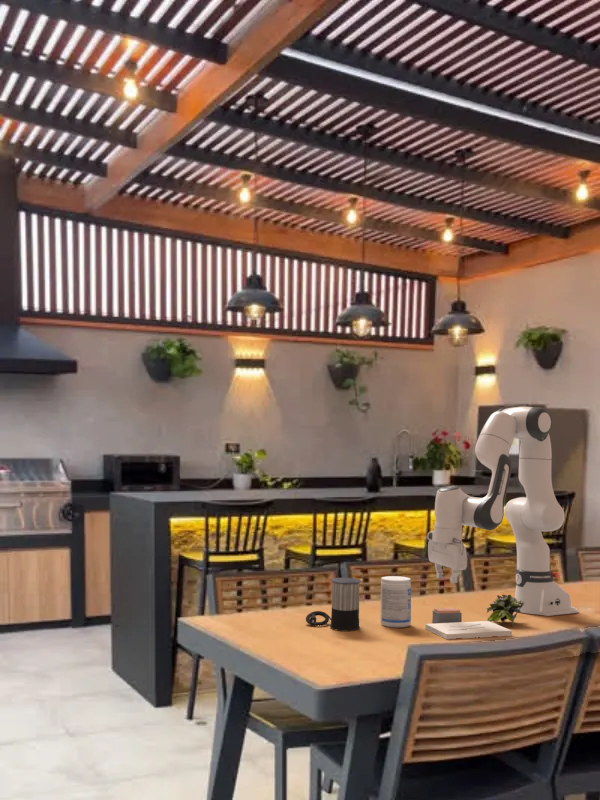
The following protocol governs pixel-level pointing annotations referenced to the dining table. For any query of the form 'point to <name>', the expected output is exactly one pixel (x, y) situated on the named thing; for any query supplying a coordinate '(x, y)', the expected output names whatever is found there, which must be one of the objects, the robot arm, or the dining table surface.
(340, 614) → the milk frother
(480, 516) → the robot arm
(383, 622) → the supplement tub
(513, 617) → the green leafy plant
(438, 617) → the block
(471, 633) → the board
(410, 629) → the dining table surface
